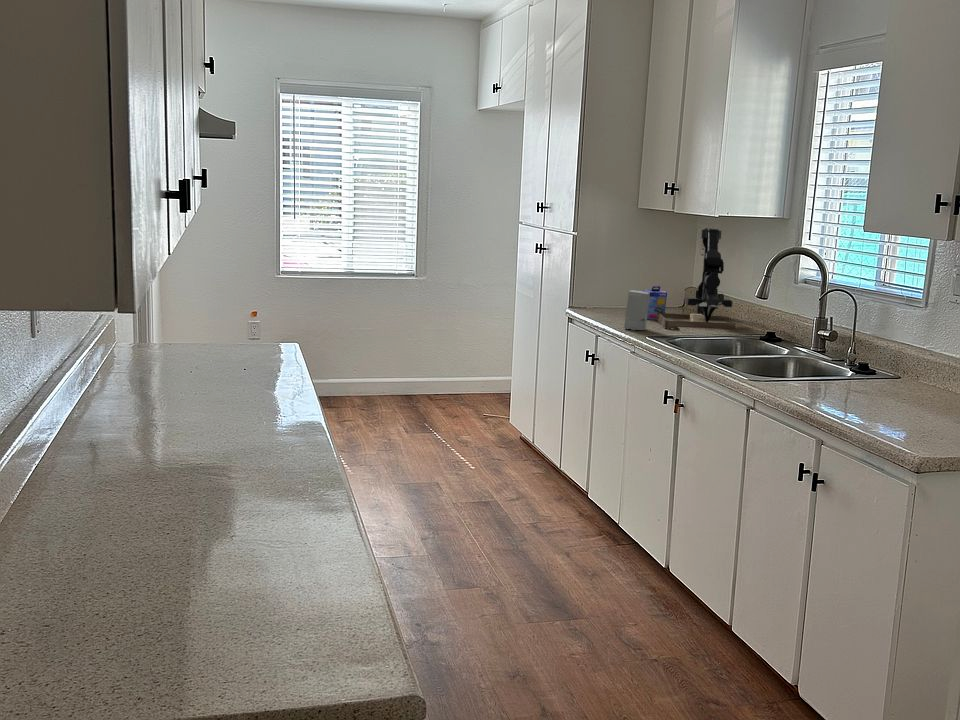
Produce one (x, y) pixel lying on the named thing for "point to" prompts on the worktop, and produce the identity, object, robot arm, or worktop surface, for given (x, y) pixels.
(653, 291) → the ink cartridge box
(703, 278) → the robot arm
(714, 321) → the trap box
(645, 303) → the skincare box
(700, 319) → the maple block
